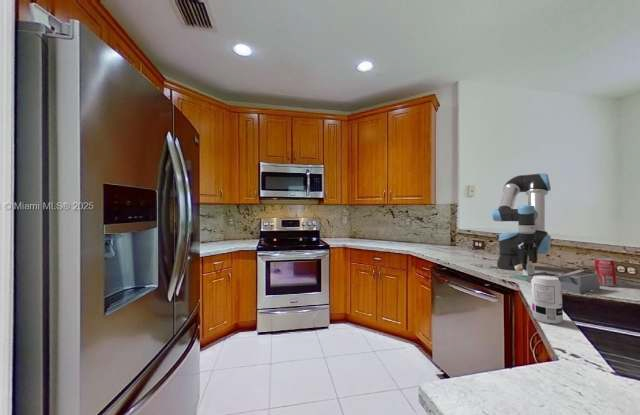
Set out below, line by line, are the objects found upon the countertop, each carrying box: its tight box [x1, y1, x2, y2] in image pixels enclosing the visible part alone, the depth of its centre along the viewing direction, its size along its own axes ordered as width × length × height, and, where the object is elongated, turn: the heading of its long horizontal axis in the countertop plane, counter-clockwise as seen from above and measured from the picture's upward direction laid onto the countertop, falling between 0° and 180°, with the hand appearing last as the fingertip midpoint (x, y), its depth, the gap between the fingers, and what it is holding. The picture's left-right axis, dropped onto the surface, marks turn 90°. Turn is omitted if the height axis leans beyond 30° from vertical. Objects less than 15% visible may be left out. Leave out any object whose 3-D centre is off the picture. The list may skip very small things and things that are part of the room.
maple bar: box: [514, 260, 533, 271], centre depth 156 cm, size 8×4×2 cm, turn 19°
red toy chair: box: [594, 257, 617, 288], centre depth 138 cm, size 7×7×13 cm
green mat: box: [508, 273, 527, 282], centre depth 156 cm, size 10×12×1 cm
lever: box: [552, 268, 585, 279], centre depth 139 cm, size 18×13×2 cm
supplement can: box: [530, 275, 564, 324], centre depth 97 cm, size 8×8×15 cm
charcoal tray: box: [526, 271, 601, 294], centre depth 139 cm, size 23×15×8 cm, turn 20°
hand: (528, 274), depth 154 cm, fingers open, 4 cm apart
